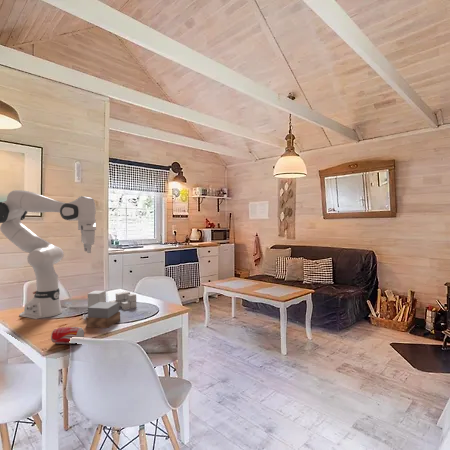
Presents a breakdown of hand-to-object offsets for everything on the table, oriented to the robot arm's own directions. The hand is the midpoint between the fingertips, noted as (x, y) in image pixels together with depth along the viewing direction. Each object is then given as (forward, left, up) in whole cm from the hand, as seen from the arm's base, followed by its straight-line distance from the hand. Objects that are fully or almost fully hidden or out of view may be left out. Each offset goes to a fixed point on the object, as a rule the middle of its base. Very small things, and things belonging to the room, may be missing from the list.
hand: (87, 252), depth 170 cm
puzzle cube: (+6, +25, -37) cm, 45 cm away
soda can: (+18, -29, -33) cm, 48 cm away
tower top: (+12, -4, -32) cm, 35 cm away
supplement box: (-2, +10, -37) cm, 38 cm away
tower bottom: (+12, -4, -37) cm, 39 cm away
